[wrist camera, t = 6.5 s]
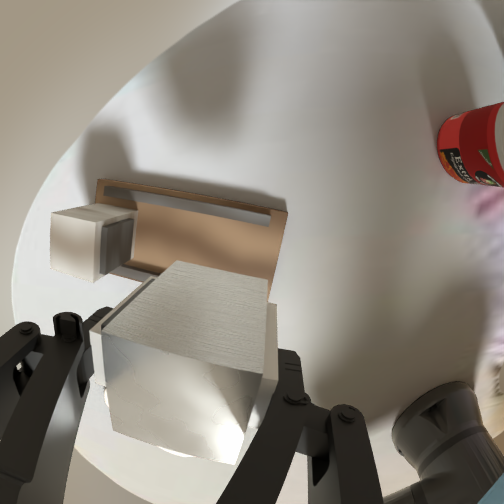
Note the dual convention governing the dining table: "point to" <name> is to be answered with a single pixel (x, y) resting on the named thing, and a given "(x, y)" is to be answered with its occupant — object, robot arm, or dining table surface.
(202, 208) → the rail board
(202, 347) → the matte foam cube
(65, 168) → the dining table surface
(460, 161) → the canned food
